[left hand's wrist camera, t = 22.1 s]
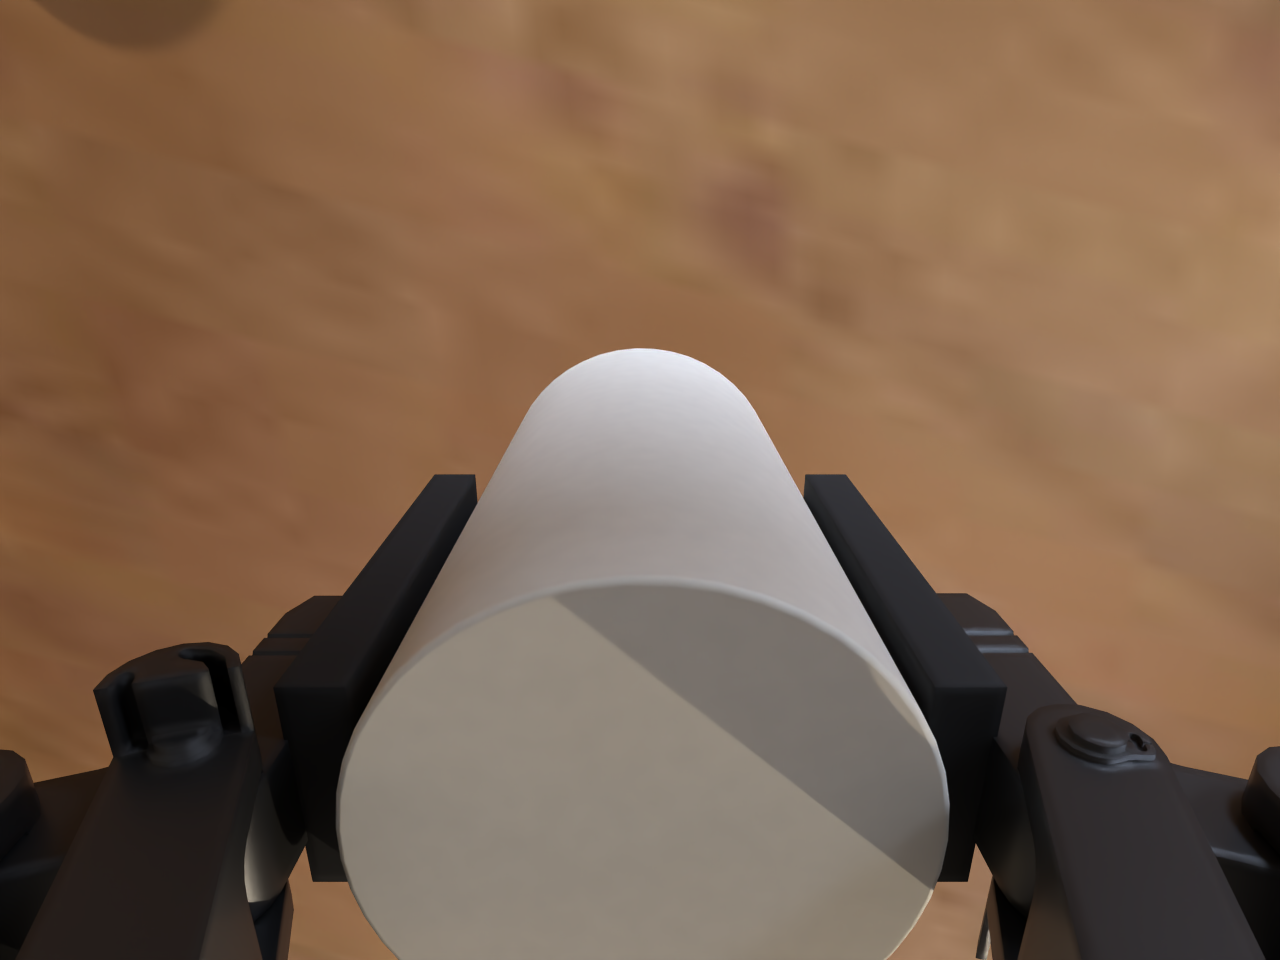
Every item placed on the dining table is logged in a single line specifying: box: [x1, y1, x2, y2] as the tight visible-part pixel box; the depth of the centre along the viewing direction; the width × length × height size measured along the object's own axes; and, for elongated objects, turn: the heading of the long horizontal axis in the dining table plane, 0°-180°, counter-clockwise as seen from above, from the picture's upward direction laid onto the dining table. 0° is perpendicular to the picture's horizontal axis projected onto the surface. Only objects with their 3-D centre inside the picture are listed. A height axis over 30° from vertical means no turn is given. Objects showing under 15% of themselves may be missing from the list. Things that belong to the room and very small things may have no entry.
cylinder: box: [336, 348, 950, 960], centre depth 13 cm, size 6×6×11 cm
